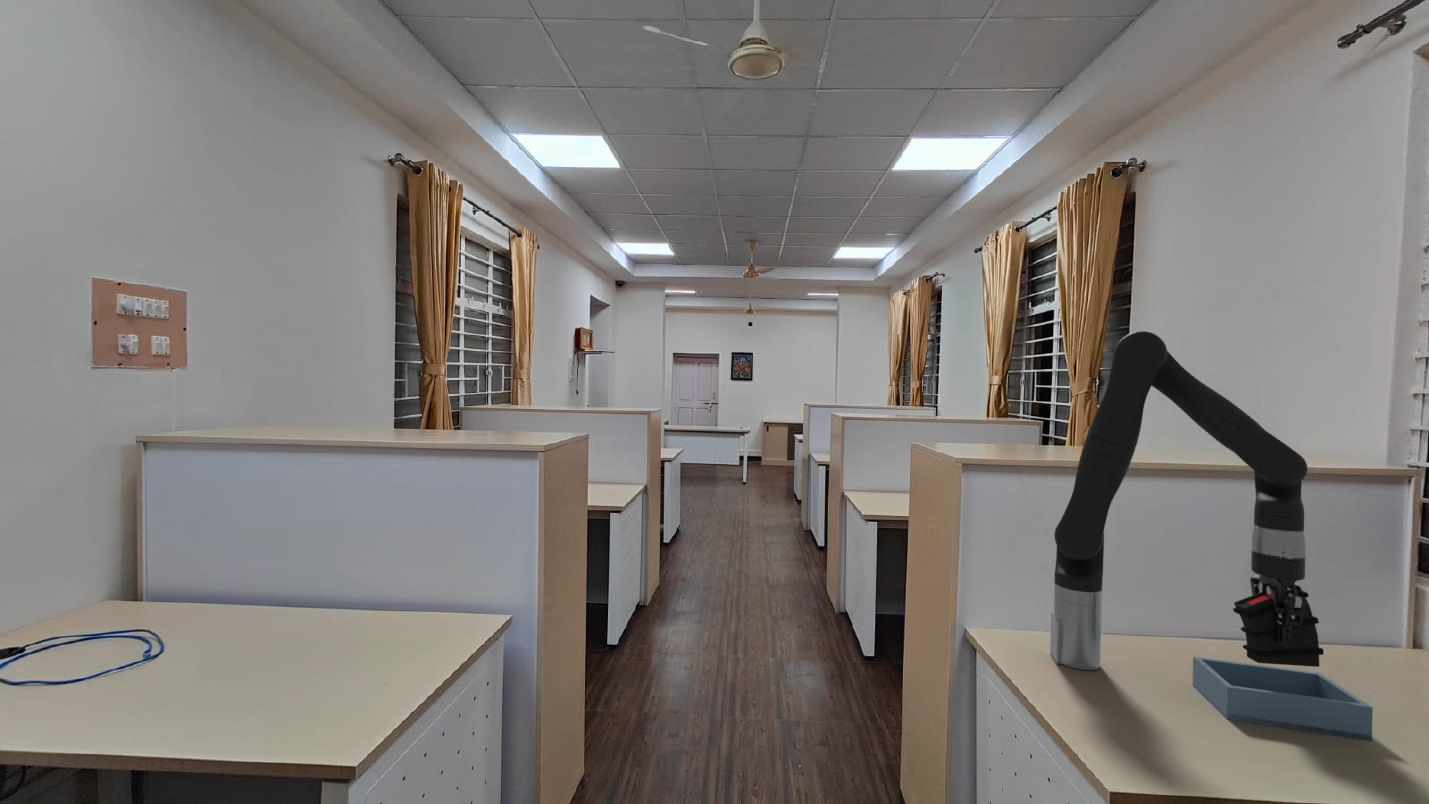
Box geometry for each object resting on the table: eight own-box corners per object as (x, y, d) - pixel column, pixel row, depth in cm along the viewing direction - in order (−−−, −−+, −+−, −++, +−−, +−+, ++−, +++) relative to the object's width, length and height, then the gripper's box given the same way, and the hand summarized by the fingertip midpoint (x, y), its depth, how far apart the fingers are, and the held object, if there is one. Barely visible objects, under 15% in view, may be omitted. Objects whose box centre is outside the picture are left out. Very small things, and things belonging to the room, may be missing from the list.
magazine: (1341, 660, 111) (1304, 586, 112) (1271, 686, 113) (1235, 613, 113) (1323, 652, 115) (1287, 580, 116) (1255, 677, 116) (1220, 606, 117)
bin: (1226, 718, 111) (1227, 687, 111) (1192, 685, 124) (1193, 656, 124) (1371, 741, 104) (1372, 707, 104) (1319, 703, 118) (1319, 673, 118)
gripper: (1234, 541, 122) (1232, 624, 122) (1275, 558, 109) (1273, 651, 109) (1279, 544, 120) (1278, 629, 120) (1327, 562, 106) (1325, 657, 106)
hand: (1275, 639), depth 114 cm, fingers closed on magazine, 4 cm apart
